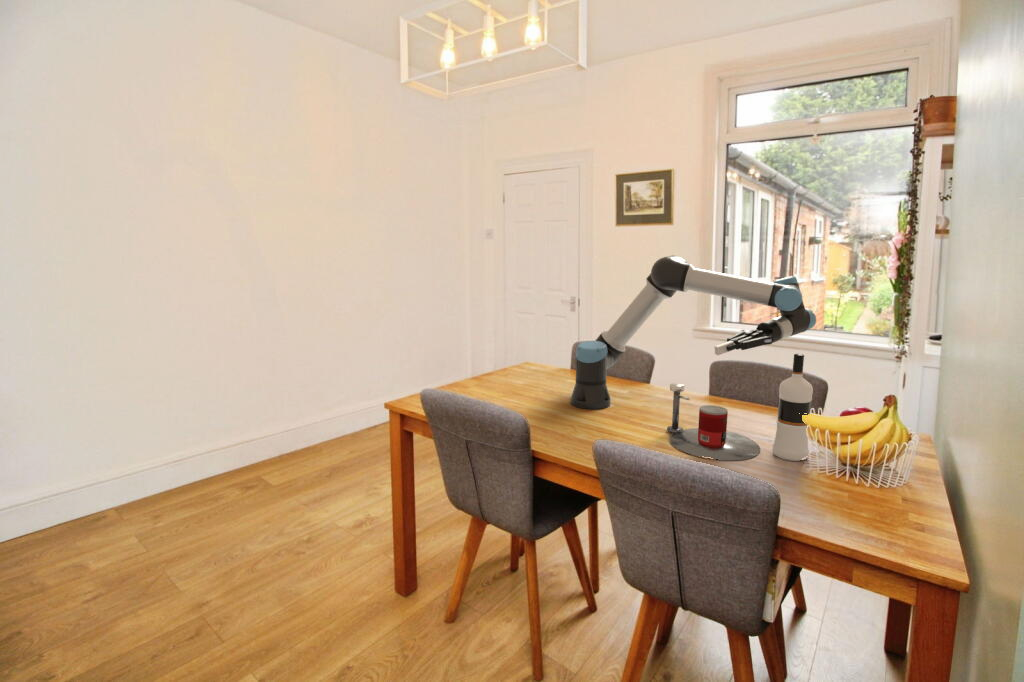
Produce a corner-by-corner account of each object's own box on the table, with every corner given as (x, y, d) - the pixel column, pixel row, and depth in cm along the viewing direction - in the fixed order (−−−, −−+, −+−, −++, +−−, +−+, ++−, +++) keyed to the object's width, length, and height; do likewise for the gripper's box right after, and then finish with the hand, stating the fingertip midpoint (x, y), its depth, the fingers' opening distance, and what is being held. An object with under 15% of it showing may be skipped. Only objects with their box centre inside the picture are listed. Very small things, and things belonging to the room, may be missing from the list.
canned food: (727, 449, 158) (730, 413, 156) (699, 447, 159) (701, 412, 157) (723, 439, 165) (725, 405, 163) (696, 438, 167) (697, 404, 165)
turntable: (656, 431, 174) (656, 430, 174) (731, 427, 177) (731, 426, 177) (692, 463, 148) (692, 462, 148) (779, 457, 152) (779, 456, 152)
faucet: (663, 430, 174) (665, 384, 171) (673, 427, 177) (675, 382, 174) (682, 436, 169) (684, 389, 166) (691, 433, 172) (694, 386, 169)
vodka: (766, 455, 153) (775, 354, 148) (779, 447, 160) (788, 349, 154) (800, 465, 147) (811, 359, 141) (813, 456, 153) (823, 354, 147)
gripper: (790, 344, 172) (732, 366, 166) (759, 337, 185) (704, 357, 178) (788, 323, 170) (729, 343, 164) (757, 317, 182) (701, 336, 176)
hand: (716, 350), depth 171 cm, fingers closed
